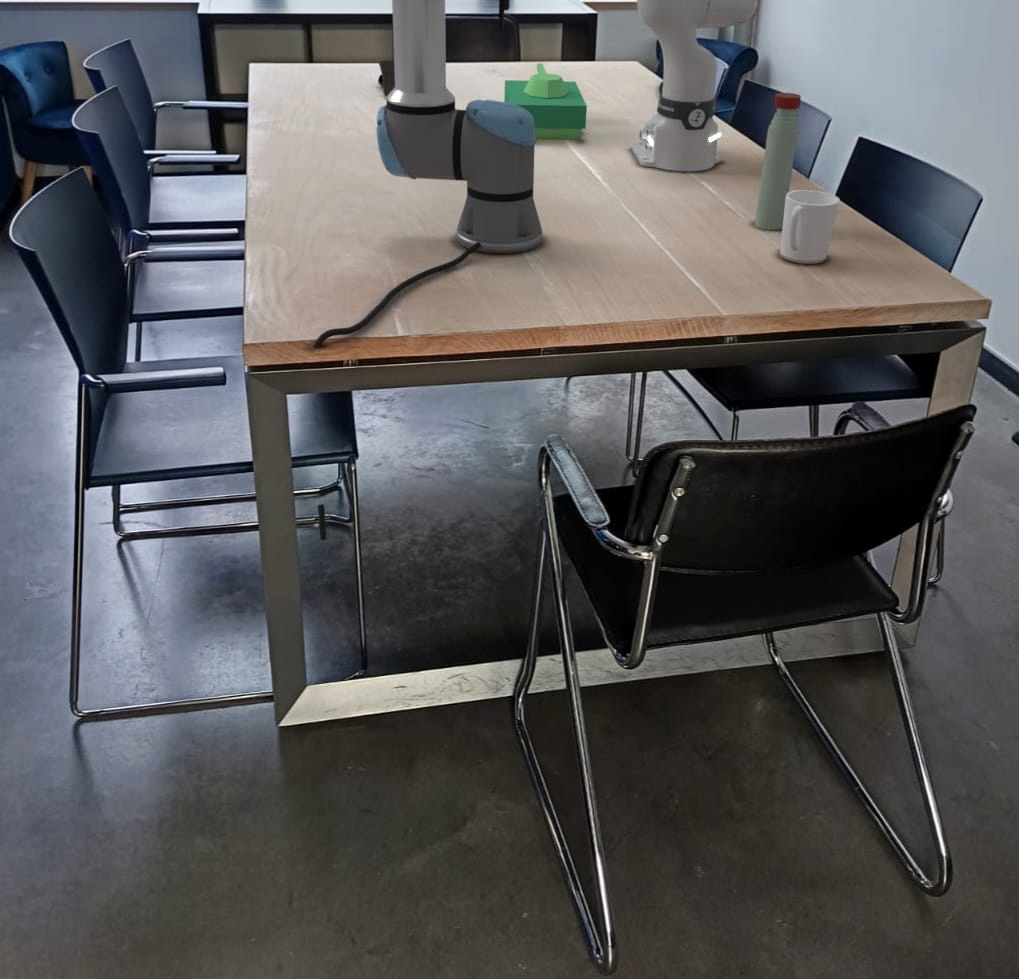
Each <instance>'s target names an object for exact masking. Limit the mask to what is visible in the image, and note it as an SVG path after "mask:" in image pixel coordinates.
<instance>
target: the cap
mask: <svg viewBox="0 0 1019 979" xmlns="http://www.w3.org/2000/svg"><path fill="white" fill-rule="evenodd" d="M801 98H802V96H801V95H800V94H798V93H793V92H777V93H775V96H774V101H773V106H774V108H776V109H777V108H780V109H789V110H792V109H795V110H798V109H799V108H800V106H801Z"/></svg>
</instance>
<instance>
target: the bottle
mask: <svg viewBox="0 0 1019 979" xmlns="http://www.w3.org/2000/svg"><path fill="white" fill-rule="evenodd" d="M796 116H797V114H796V109H792V110H789V109H780V108H776V112H775V113H774V116H773V117H772V120H771V121H770V124H769V126H768V128H767V134H766V143H765V148H764V156H763V163H762V171H761V178H760V184H759V190H758V191H759V192H758V199H757V206H756V212H755V220H754V226H755V227H756V228H758V229H762V230H767V231H777V230H778V231H779V230H782V228H783V219H784V209H785V200H786V194H787V193H789V192H790V186H791V179H792V173H793V166H794V162H795V161H794V160H795V154H796V148H797V141H798V135H799V130H798V129H799V126H798V122H797V118H796Z"/></svg>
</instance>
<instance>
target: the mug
mask: <svg viewBox="0 0 1019 979" xmlns="http://www.w3.org/2000/svg"><path fill="white" fill-rule="evenodd" d="M840 200H841V199H840V197H838V196H837V195H835V194H832V193H829V192H825V191H822V190H821V191H820V190H813V189H797V190H792V191H789V193H787V194H786V200H785V209H784V219H783V228H782V229H781V239H780V248H779V254H780V257H782V258H783V259H785V260H787V261H790V262H793V263H797V264H805V265H806V264H809V265H813V264H819V263H823V262H824V261H825V260H827V258H828V253H829V248H830V245H831V240H832V236H833V231H834V227H835V223H836V218H837V213H838V209H839V205H840Z"/></svg>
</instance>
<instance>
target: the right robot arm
mask: <svg viewBox="0 0 1019 979" xmlns="http://www.w3.org/2000/svg"><path fill="white" fill-rule="evenodd" d="M758 2H759V0H636V7H637V9H636V10H637V12H638V15H639V17H640V19H641V21H642V22H643V23H644V24H645V25H646V26H647V27H648V28H649V29H650V30H651V31H652V32H653V33H654V35H655V36H656V38H657V40H658V42H659V45H660V48H661V51H662V52H661V53H662V57H663V58H662V59H663V77H662V78H663V80H662V81H661V82H660V84H659V86H658V93H659V99H658V102H657V108H656V113H655V114H654V115H653V116H652V118H650V120H649V121H648V122H646V124H644V127H643V129H640V130H639V140H640V141H642V142H639V143H634V144H632V145H631V150H632V152H633V154H634V156H635V158H636V159H637V161H638V163H639V164H640V166H643V167H650V168H657V169H661V170H662V169H663V170H665V171H666V170H667V171H674V172H675V171H676V172H697V171H698V172H699V171H700V172H701V171H705V170H710V169H711V168H713V167H714V166H715V165H717V164H720V163H721V162H722V156H720V155H718V152H717V151H718V138H720V137H722V133H721V132H718V131H719V126H718V123H717V122H716V121H715V120H714V118H713V117H714V116H715V110H716V98H715V90H716V80H717V73H718V62H717V59H716V56H715V55H714V54H713V53H712V52H711V51H710V50H709V49H707V48H705V47H704V46H703V45H700V44H699V42H698V40H697V30H698V29H718V28H719V29H724V28H730V27H733V26H738V25H740V24H744V23H747V22H748V21H749V20H750V19H751V18H752V16H753V15H754V13H755V11H756V8H757V6H758Z"/></svg>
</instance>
